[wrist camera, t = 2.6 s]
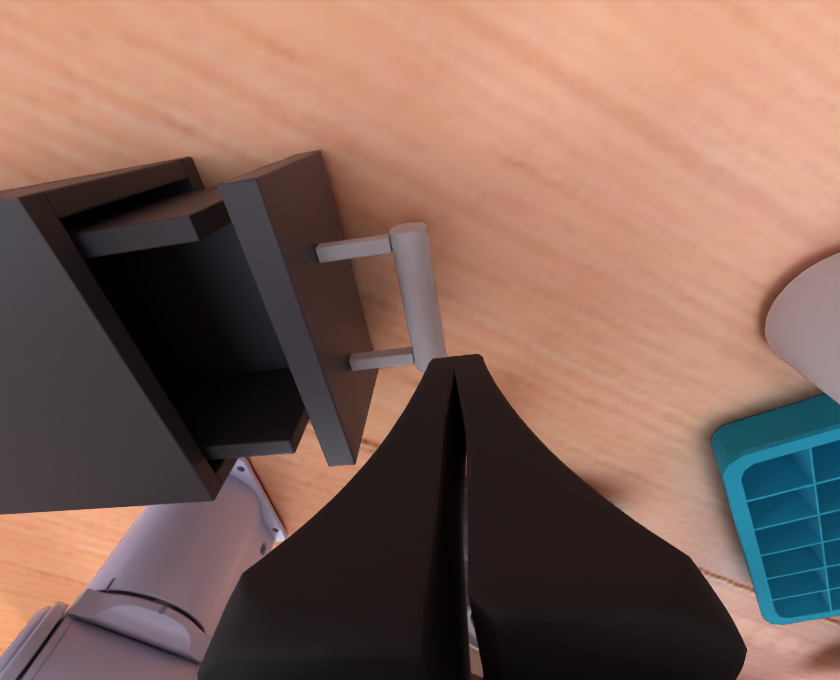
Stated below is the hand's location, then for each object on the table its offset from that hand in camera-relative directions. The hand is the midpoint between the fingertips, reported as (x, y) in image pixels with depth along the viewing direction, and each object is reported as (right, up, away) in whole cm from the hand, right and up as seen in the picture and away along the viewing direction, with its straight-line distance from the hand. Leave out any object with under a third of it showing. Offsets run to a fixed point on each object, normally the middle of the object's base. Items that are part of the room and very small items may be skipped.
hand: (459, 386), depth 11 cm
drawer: (-8, +4, +9) cm, 13 cm away
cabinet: (-17, +3, +11) cm, 21 cm away
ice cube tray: (+26, -9, +16) cm, 32 cm away
